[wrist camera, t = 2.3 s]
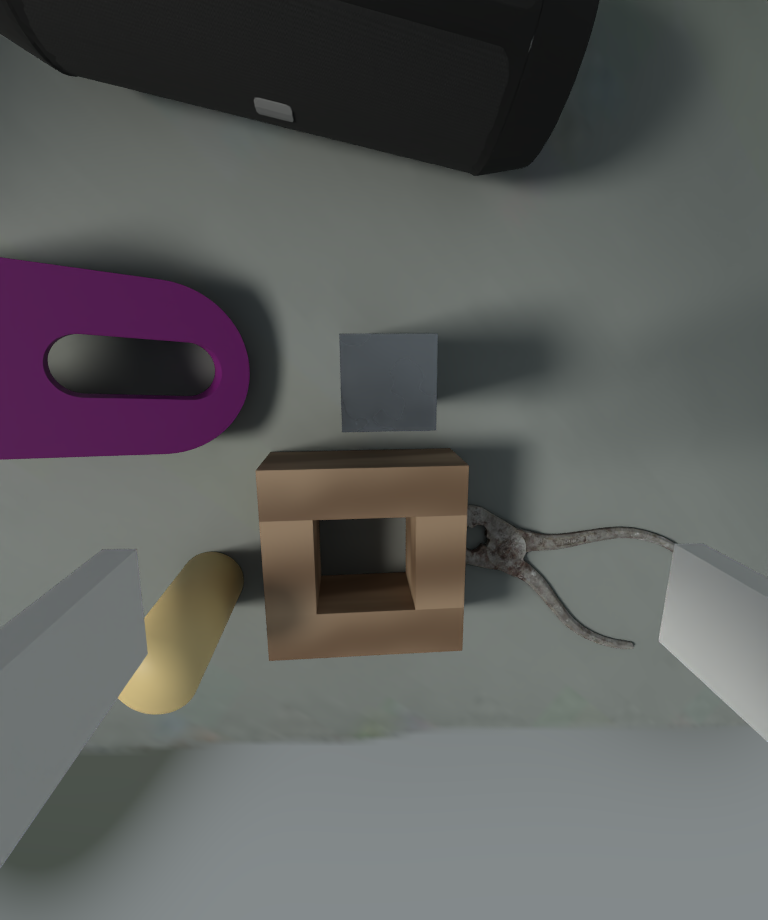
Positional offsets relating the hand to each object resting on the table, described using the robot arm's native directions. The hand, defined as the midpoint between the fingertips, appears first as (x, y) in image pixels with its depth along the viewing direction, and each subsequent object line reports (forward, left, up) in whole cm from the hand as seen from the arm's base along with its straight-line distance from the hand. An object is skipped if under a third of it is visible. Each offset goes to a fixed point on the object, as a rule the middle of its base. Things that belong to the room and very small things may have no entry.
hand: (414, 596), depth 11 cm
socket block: (+6, -1, -20) cm, 21 cm away
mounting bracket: (-5, -17, -21) cm, 27 cm away
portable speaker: (-22, -4, -20) cm, 30 cm away
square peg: (-5, 0, -20) cm, 21 cm away
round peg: (+9, -11, -20) cm, 25 cm away
